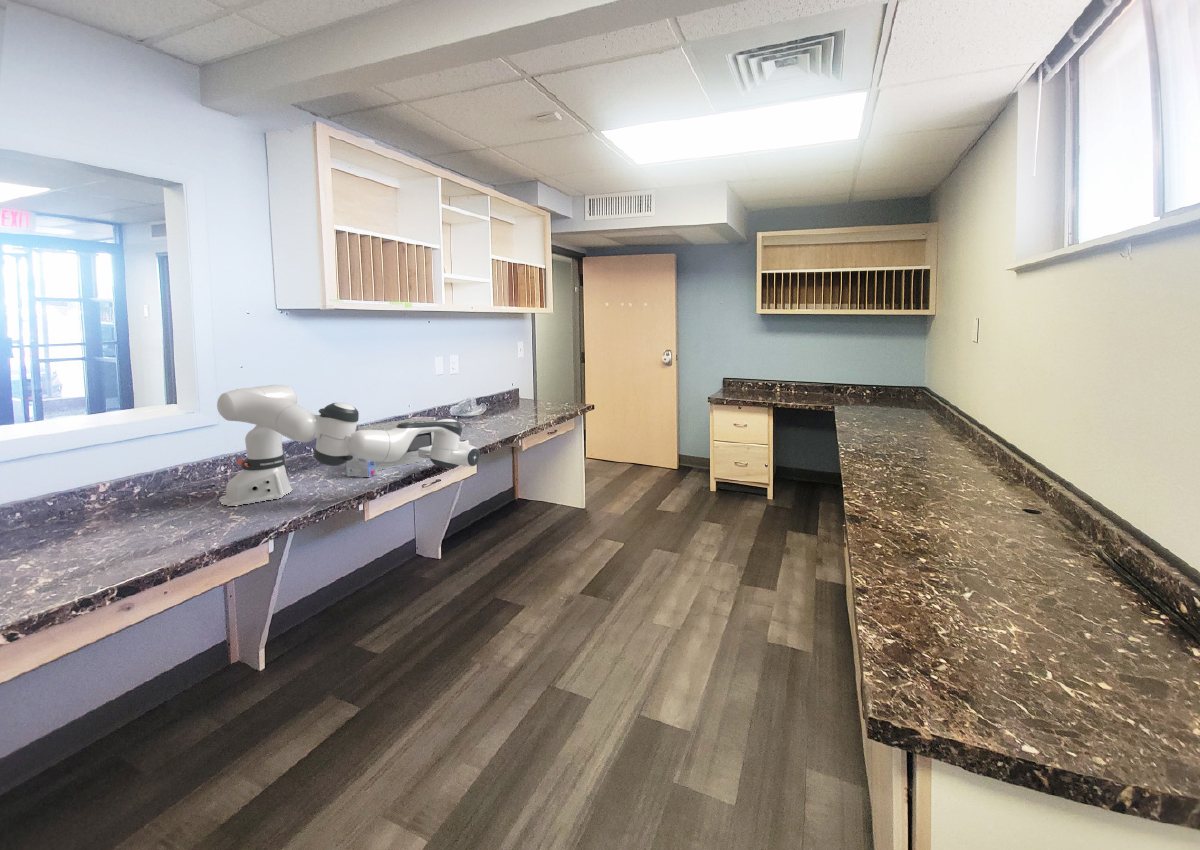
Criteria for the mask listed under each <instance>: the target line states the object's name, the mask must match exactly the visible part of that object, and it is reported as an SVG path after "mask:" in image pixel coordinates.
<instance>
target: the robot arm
mask: <svg viewBox="0 0 1200 850" xmlns="http://www.w3.org/2000/svg"><path fill="white" fill-rule="evenodd" d="M218 397H219V398H218V399H217V403H216V408H217V411H218V413H219V415H220V416H221V417H222V418H223V419H224V420H226V421H228V422H229V421H230V422H241V423H248V424H251V425H255V426H254V427H253V428H252V429H251V430H249V431H248V432H247V433H246V435H245V438H244V441H245V450H246V455H247V457H246V458H245V459H242V458H239V459H238V460H237V461H236V463H237V464H238V465H239V466H241V468H242V469H241V470H240V471H239V472H238V473H237V474H235V476H233V477H232V478H231V479H230V480H229V481H228V482H227V483H226V487H225V495H222V496H220V497H219V499H218V501H220V502H221V503H223V504H225V505H230V506H235V505H242V504H248V505H250V504H249V503H254V504H256V503H255V502H259V503H261V502H260V501H265V502H267V501H266V500H271V501H274V500H273V499H277V500H280V499H279V498H281V499H283V498H284V497H285V496H287V495H289V494H291V493H292V492H293V491H292V490H293V488H292V486H291V484H290V481H289V477H288V474H287V471H286V469H287V461H286V456H285V455H286V454H285V453H284V451H283V439H282V436H283V437H286V438H287V439H289V440H293V441H296V442H300V443H309V442H313V441H315V439H316V441H315V447H314V449H313V457H314V460H316V461H317V462H318V463H320V464H322V465H324V466H329V467H337V466H338V467H339V466H341V465H344V464H346V462H347V461H350V460H352V459H353V456H355V457H357V458H361V459H365V460H369V461H377V462H394V461H397V460H399V459H400V458H401V457H402V456H403V455H404V454H405V453H406V452H407V450H408V448H409V446H410V444H411V442H412V441H413V439H414V438H415V437H416V436H417V435H418V434H419V433H423V432H434V438H433V444H432V445H430V446H427V447H422V448H419V449H418V456H419V457H421V458H427V459H430V460H429V461H431V463H433V464H434V465H435V466H438V467H440V468H444V469H445V468H446V469H455V468H457V467H459V466H462V467H475V466H476V465H478V464H479V462H480V460H481V459H480V458H481V452H480V449H478V448H477V447H476V446H474V445H472V444H470V441H469V440H468V439H461V436H462V432H463V427H462V426H461V424H460V422H459V421H458V420H456V419H453V418H443V419H436V420H434V421H416V422H404V423H400V424H398V425H397V426H396V427H395V428H394V429H391V430H387V431H385V430H359V429H357V425H358V422H359V417H360V416H359V411H358V409H357V408H356V407H354V406H352V405H351V404H349V403H345V402H333V403H330V404H328V405H326V406H325V407H323V408H320V409H319V410H318V413H319V414H316V413H315V414H314V413H312V412H310V411H309V410H307V409H305V408H304V407H302V406H300V405H299V404H297V403H298V397H297V395H296V392H295V391H294V390H293V388H291V387H290V386H289V385H283V384H281V385H280V384H271V385H262V386H254V387H245V388H236V389H231V390H229V391H226V392H223V393H221V394H220V396H218ZM351 455H353V456H351ZM291 491H292V492H291ZM290 492H291V493H290ZM288 493H289V494H288ZM286 494H287V495H286ZM284 495H285V496H284ZM283 496H284V497H283ZM282 497H283V498H282ZM220 502H219V503H220ZM242 506H243V505H242Z"/></svg>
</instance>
